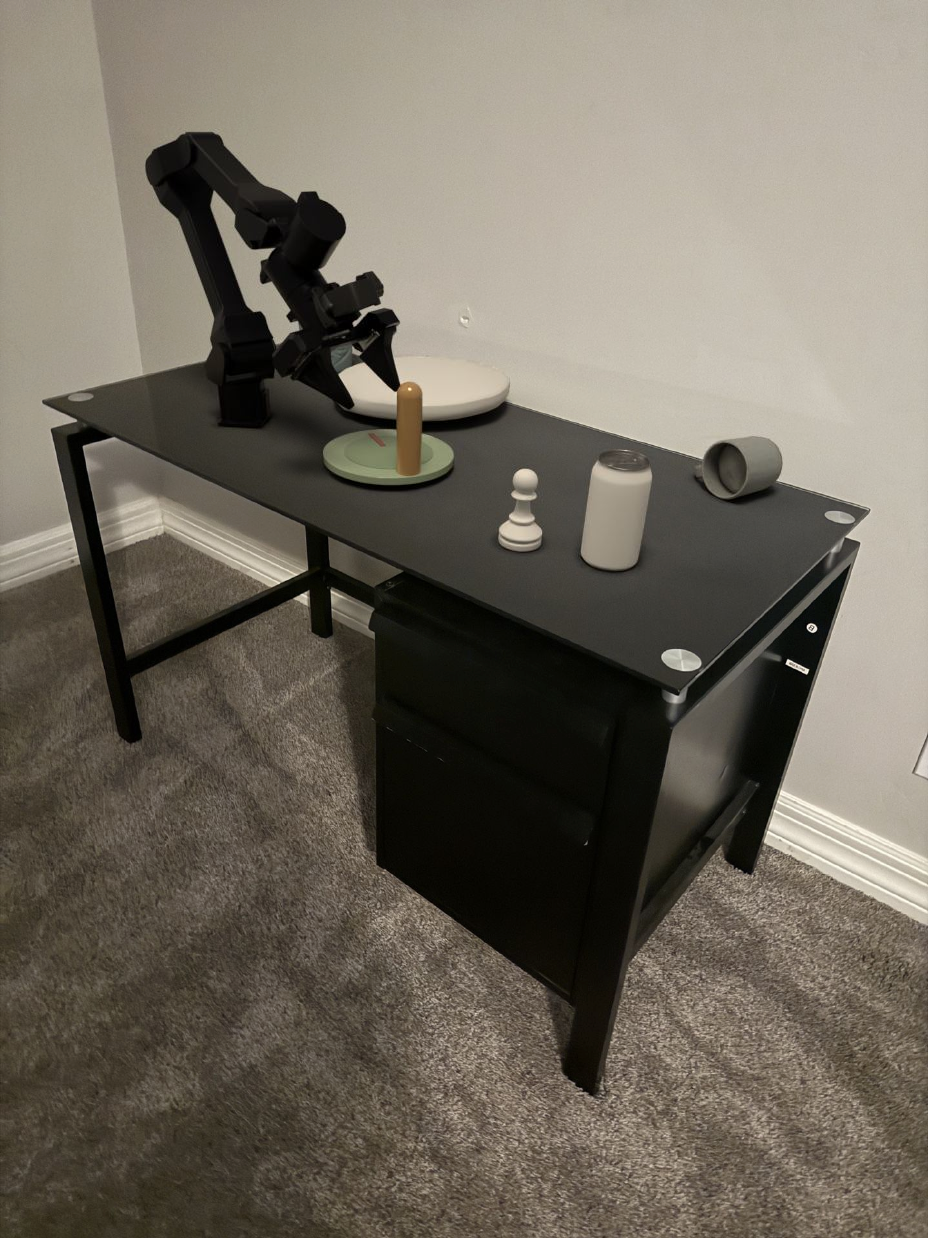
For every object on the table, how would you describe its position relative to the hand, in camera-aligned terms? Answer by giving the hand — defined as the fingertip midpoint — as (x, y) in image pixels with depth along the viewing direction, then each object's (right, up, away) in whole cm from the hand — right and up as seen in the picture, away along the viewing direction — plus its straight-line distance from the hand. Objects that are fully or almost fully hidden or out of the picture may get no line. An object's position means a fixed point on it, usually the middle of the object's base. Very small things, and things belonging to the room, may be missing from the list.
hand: (375, 398), depth 109 cm
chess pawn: (+18, -19, -8) cm, 27 cm away
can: (+27, -21, -10) cm, 36 cm away
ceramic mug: (+47, -10, +9) cm, 49 cm away
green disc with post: (+1, -7, +10) cm, 12 cm away
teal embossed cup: (-14, +18, +48) cm, 53 cm away
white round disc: (+4, +7, +32) cm, 33 cm away
